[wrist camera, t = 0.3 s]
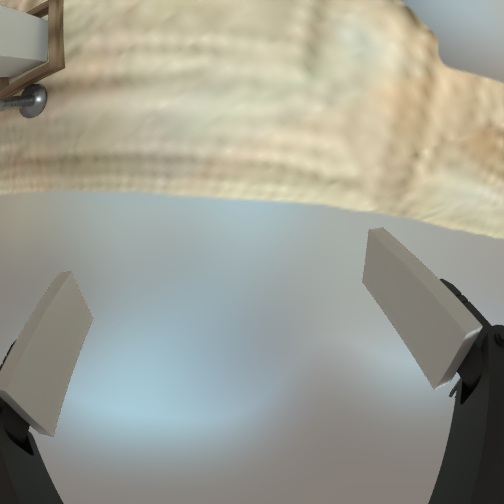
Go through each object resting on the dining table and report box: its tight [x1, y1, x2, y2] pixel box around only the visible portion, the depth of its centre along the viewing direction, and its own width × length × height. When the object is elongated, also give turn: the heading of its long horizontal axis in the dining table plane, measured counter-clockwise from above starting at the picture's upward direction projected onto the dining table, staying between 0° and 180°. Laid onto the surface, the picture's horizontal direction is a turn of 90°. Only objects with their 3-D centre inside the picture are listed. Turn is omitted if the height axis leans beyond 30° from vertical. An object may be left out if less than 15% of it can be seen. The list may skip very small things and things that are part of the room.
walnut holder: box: [0, 0, 65, 97], centre depth 21 cm, size 12×12×2 cm
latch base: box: [19, 84, 47, 118], centre depth 27 cm, size 5×5×1 cm
